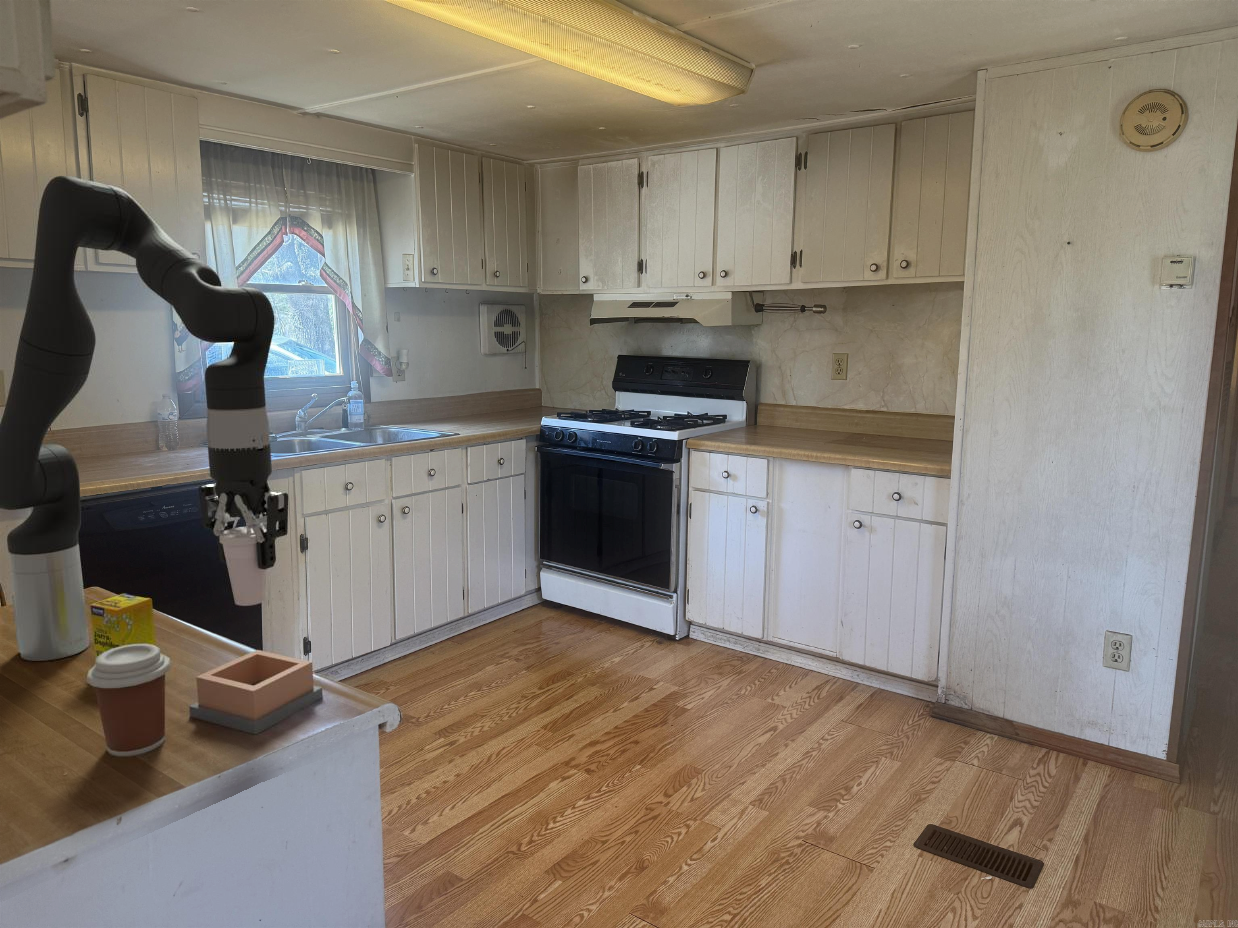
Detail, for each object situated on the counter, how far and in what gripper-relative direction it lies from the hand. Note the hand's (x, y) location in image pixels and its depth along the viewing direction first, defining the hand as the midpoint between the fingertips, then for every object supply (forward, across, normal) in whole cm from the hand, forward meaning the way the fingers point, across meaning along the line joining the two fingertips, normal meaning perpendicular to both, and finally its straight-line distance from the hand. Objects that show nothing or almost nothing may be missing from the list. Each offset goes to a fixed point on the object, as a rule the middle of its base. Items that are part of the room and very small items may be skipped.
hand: (247, 564), depth 114 cm
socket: (+20, 0, 0) cm, 20 cm away
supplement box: (+21, -28, +1) cm, 35 cm away
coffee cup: (+21, -6, -14) cm, 26 cm away
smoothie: (+5, 0, 0) cm, 5 cm away
